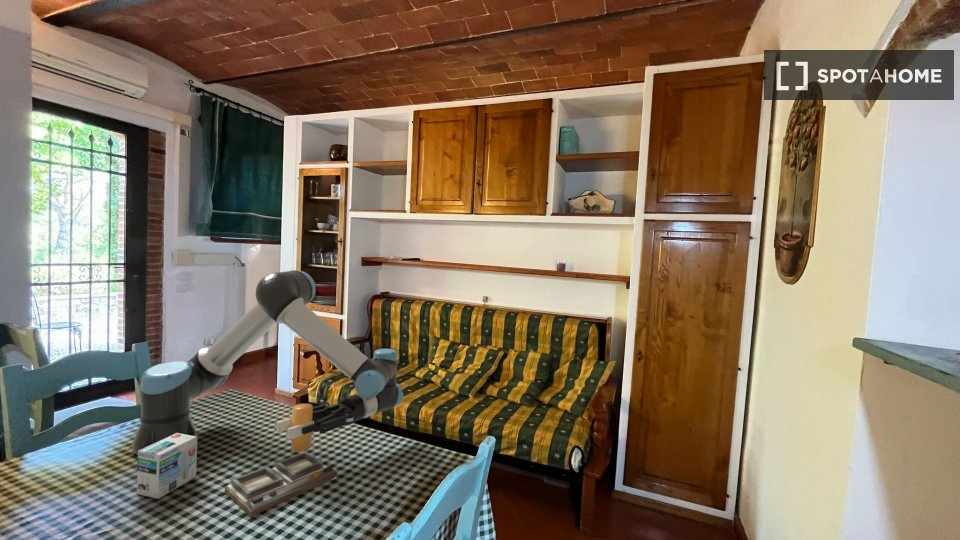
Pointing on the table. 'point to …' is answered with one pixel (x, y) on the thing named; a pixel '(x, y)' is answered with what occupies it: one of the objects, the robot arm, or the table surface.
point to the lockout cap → (301, 416)
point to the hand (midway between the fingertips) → (282, 430)
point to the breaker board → (278, 482)
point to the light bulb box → (166, 465)
